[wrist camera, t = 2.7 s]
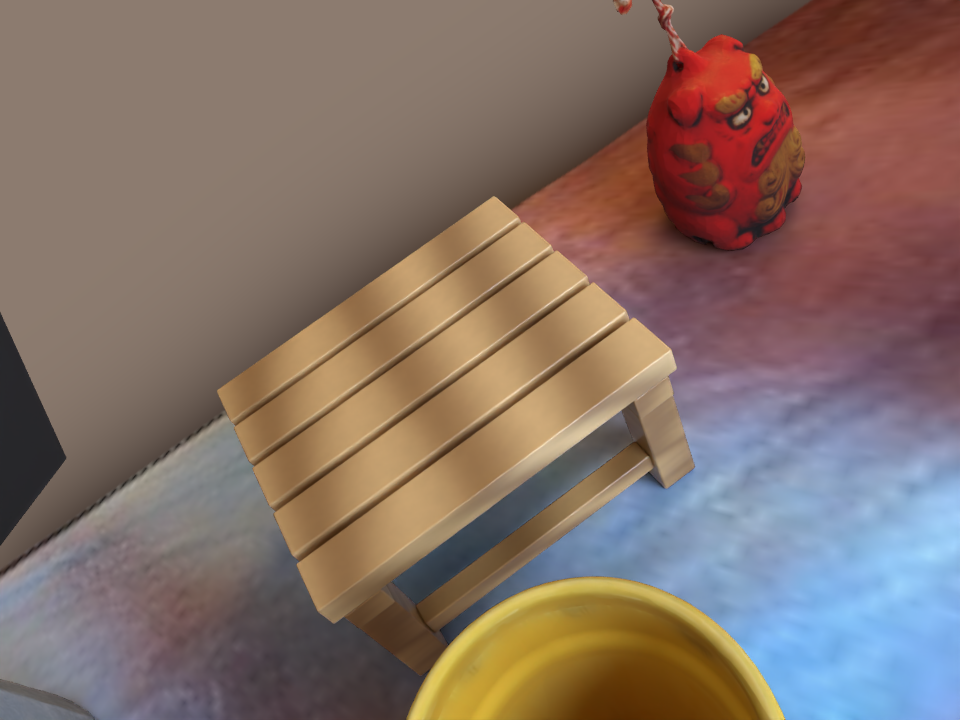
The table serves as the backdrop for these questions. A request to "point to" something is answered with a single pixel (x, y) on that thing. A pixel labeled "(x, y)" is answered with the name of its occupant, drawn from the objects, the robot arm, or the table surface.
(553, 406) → the plant rack
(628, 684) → the flower pot
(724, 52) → the red clay folk toy
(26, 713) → the moka pot
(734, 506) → the table surface
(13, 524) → the robot arm
